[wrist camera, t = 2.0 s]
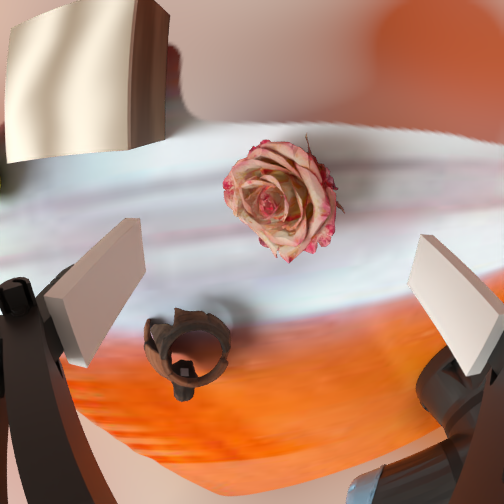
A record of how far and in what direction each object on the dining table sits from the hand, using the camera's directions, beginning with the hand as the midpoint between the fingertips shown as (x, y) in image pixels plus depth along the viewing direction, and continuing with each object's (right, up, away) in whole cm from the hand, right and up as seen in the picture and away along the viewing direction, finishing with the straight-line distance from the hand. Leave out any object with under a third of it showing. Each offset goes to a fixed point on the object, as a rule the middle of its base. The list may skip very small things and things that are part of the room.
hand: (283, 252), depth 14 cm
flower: (+1, +6, +13) cm, 15 cm away
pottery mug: (-9, -10, +21) cm, 25 cm away
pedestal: (-15, +16, +9) cm, 24 cm away
